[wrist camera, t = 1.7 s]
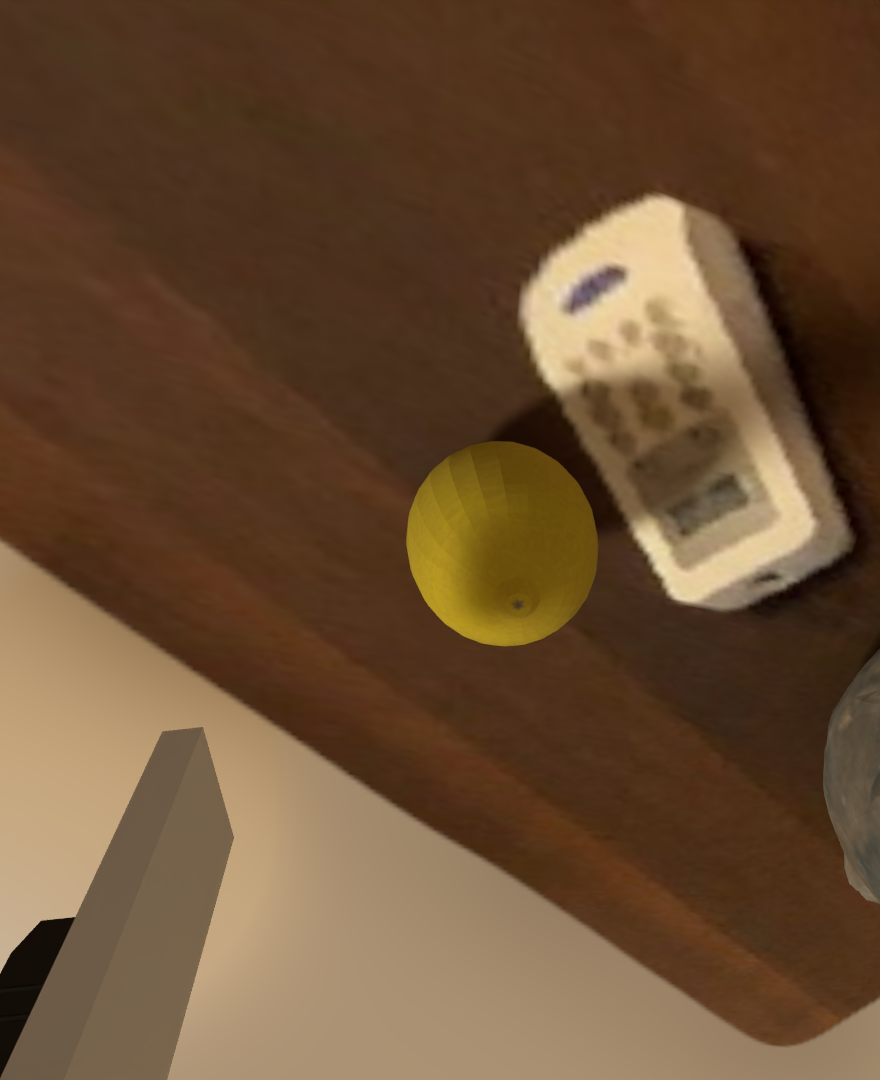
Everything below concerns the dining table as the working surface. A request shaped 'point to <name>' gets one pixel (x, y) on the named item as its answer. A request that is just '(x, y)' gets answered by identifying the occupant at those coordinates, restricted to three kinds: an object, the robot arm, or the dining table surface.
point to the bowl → (857, 778)
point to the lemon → (502, 543)
